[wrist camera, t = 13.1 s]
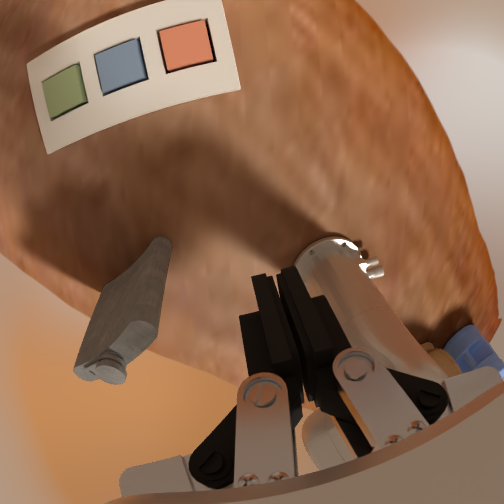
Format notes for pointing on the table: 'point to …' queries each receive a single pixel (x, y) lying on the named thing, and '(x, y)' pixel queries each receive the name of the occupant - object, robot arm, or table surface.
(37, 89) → the button board
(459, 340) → the water jug
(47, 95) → the olive green button
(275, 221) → the table surface
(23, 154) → the table surface
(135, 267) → the hip flask
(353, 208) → the table surface
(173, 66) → the terracotta button
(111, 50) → the slate blue button
